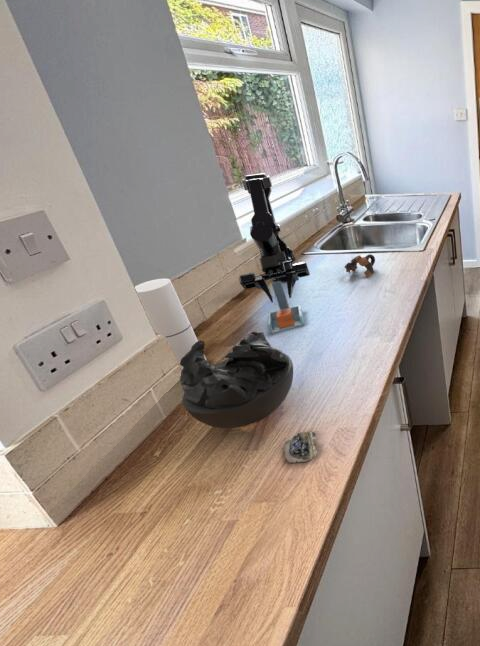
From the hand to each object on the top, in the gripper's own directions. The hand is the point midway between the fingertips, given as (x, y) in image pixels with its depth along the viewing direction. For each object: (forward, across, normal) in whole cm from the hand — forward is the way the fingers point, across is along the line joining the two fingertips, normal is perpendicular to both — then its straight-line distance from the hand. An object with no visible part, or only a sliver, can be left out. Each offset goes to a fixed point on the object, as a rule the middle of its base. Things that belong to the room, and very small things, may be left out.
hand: (281, 300), depth 124 cm
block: (+8, 0, +1) cm, 8 cm away
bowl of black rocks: (+35, -7, -26) cm, 44 cm away
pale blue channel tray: (+7, 0, +2) cm, 7 cm away
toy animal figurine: (-11, +27, +20) cm, 35 cm away
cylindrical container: (+16, -23, -7) cm, 29 cm away
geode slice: (+47, +2, -37) cm, 60 cm away
